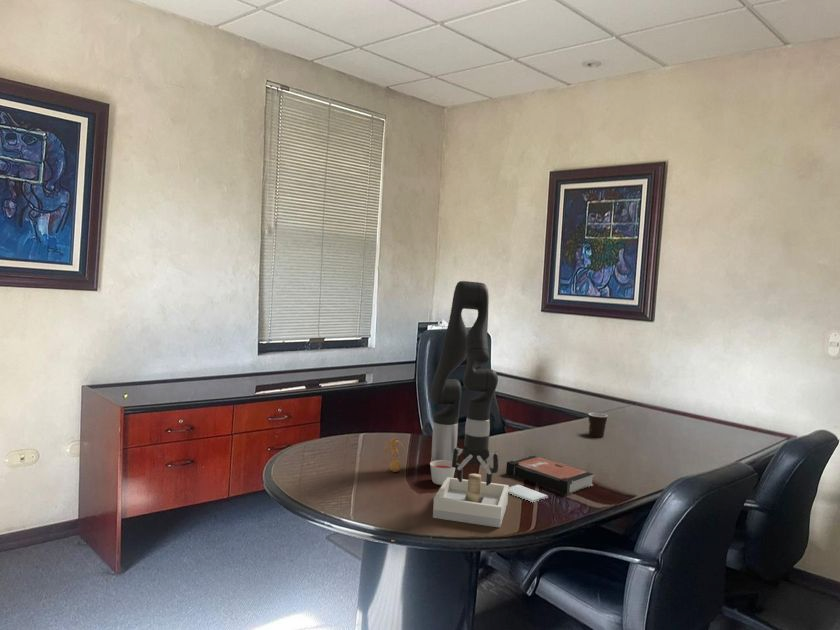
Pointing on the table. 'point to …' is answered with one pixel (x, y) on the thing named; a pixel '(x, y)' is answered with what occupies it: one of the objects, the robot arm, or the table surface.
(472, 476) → the peg
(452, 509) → the tray
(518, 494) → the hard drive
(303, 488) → the table surface
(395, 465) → the figurine
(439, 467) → the white cup
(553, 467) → the book
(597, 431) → the coffee mug
